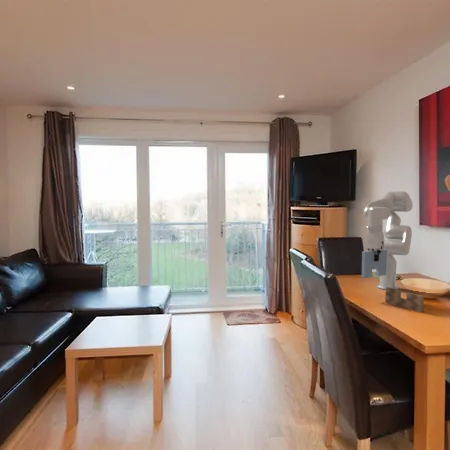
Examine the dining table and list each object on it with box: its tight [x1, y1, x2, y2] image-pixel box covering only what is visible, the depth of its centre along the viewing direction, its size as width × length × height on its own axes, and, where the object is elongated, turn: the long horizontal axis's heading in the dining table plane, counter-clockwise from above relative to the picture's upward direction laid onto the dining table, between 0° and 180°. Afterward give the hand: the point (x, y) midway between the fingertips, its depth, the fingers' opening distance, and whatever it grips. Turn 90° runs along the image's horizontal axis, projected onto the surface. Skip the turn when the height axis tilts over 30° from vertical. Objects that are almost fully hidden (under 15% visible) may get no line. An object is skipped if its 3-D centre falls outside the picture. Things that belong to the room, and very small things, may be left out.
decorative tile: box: [370, 271, 402, 281], centre depth 252 cm, size 19×20×4 cm
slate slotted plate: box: [361, 249, 387, 279], centre depth 194 cm, size 18×2×15 cm, turn 117°
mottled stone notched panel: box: [384, 287, 425, 313], centre depth 178 cm, size 20×2×8 cm, turn 27°
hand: (374, 260), depth 194 cm, fingers closed on slate slotted plate, 2 cm apart
